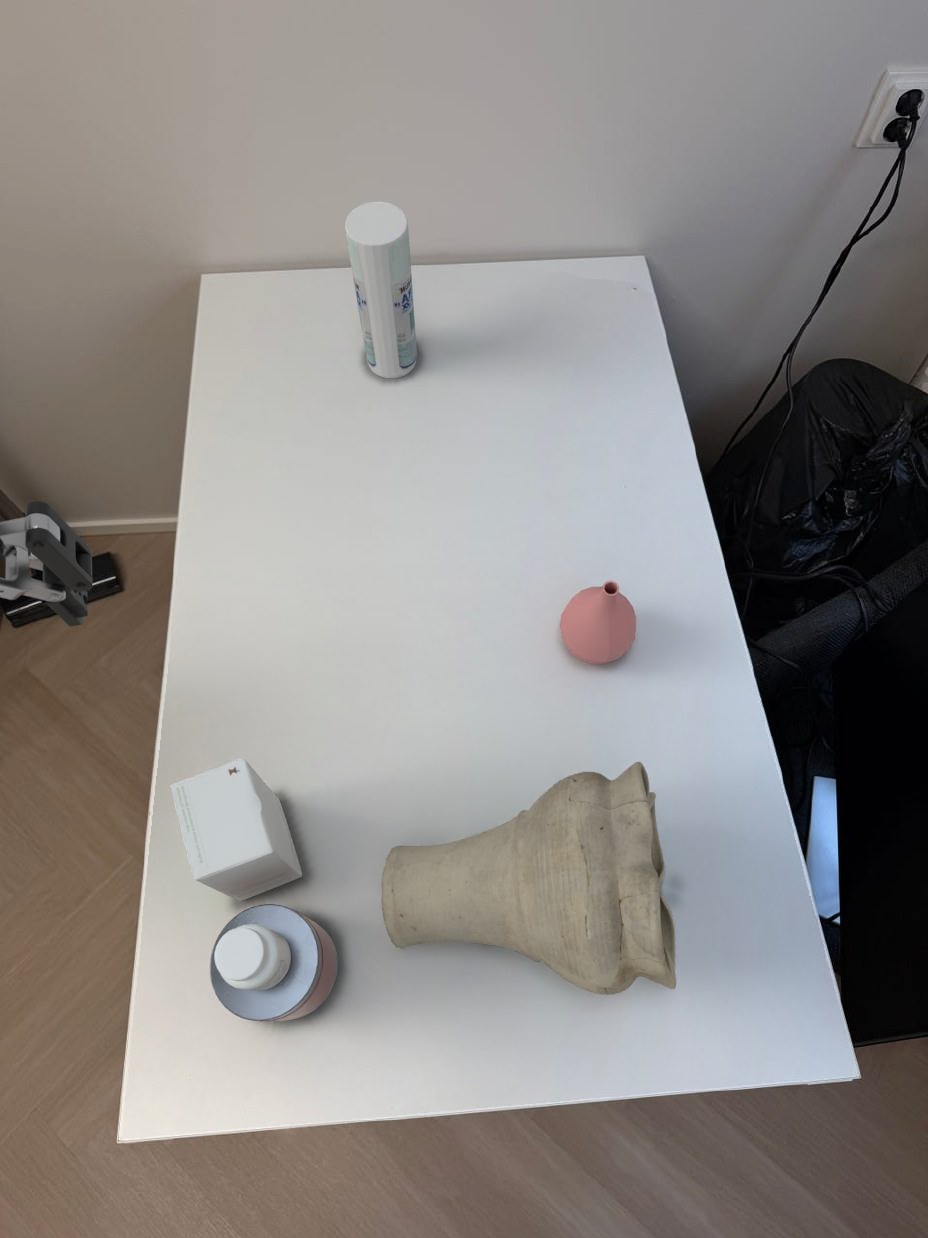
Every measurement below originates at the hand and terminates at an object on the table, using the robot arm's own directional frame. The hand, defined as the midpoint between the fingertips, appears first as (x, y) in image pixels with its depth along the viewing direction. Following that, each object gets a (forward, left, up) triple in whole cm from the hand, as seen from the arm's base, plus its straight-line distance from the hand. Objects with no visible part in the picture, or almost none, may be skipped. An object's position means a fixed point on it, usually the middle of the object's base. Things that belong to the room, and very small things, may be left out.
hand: (8, 625), depth 53 cm
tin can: (+9, -21, -33) cm, 40 cm away
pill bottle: (+9, -21, -22) cm, 32 cm away
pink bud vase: (+44, +4, -33) cm, 55 cm away
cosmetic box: (+8, -10, -33) cm, 35 cm away
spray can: (+30, +46, -33) cm, 64 cm away
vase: (+30, -18, -33) cm, 48 cm away
